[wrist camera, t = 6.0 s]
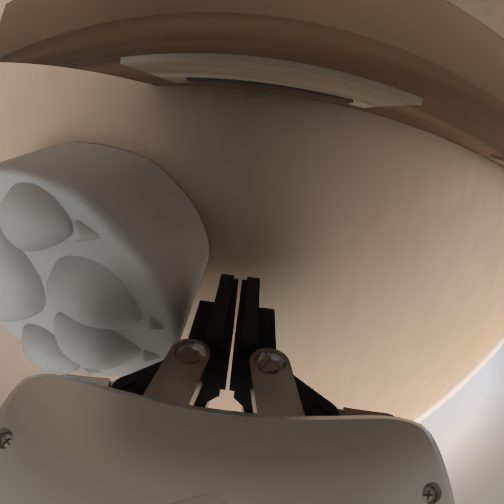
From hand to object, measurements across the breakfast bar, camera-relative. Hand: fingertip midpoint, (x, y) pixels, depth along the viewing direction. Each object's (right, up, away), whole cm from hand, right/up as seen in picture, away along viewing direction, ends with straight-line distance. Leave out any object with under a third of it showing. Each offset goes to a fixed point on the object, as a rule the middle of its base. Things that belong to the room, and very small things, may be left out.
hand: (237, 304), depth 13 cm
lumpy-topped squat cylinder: (-8, +4, +4) cm, 10 cm away
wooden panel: (+9, +10, 0) cm, 14 cm away
